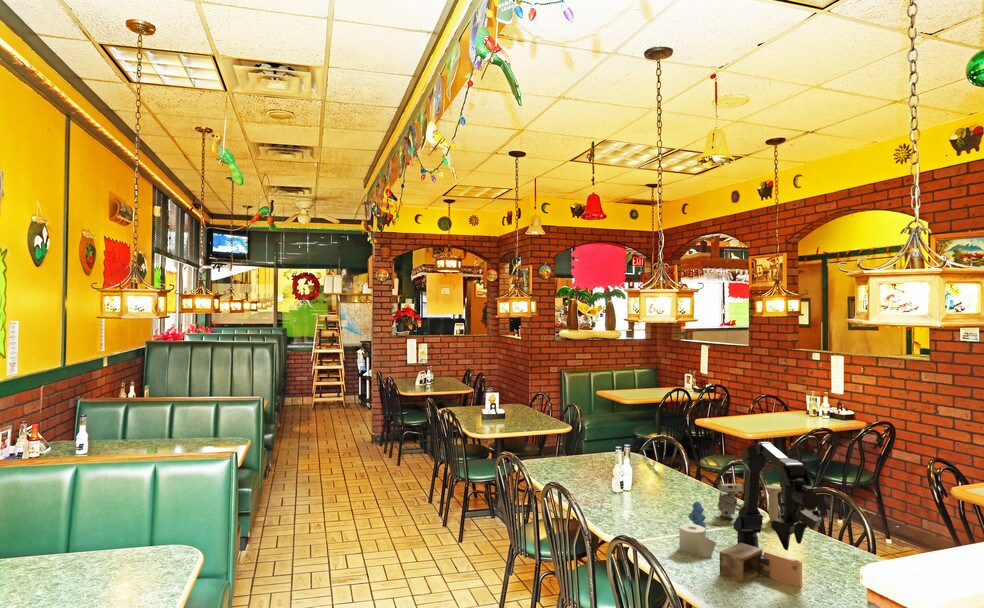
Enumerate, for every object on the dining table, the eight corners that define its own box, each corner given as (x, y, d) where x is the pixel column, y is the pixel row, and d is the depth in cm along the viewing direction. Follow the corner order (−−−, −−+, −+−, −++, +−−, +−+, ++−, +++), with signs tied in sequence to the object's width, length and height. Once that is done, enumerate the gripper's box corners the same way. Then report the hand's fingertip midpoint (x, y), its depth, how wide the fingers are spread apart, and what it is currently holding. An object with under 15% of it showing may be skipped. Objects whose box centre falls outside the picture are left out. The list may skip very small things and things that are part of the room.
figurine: (745, 522, 260) (745, 487, 260) (717, 519, 264) (717, 484, 265) (745, 516, 268) (745, 482, 269) (717, 512, 273) (717, 479, 273)
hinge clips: (758, 574, 207) (758, 556, 207) (765, 570, 210) (764, 553, 210) (768, 577, 204) (768, 560, 204) (774, 574, 207) (774, 556, 207)
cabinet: (719, 575, 206) (719, 551, 206) (740, 564, 215) (740, 542, 215) (741, 583, 200) (741, 559, 200) (762, 572, 209) (762, 549, 209)
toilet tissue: (716, 558, 220) (716, 535, 221) (678, 553, 225) (678, 530, 225) (716, 549, 229) (716, 527, 229) (680, 544, 234) (680, 522, 234)
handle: (782, 524, 258) (782, 489, 259) (765, 522, 261) (765, 487, 261) (780, 520, 263) (780, 486, 263) (764, 518, 265) (764, 484, 266)
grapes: (684, 526, 255) (684, 497, 255) (700, 526, 254) (700, 498, 255) (692, 536, 243) (692, 506, 243) (708, 536, 243) (709, 506, 243)
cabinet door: (762, 575, 206) (762, 552, 206) (766, 573, 208) (766, 550, 208) (798, 588, 197) (798, 563, 197) (802, 586, 198) (802, 561, 199)
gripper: (804, 511, 189) (804, 561, 189) (829, 500, 201) (829, 547, 201) (770, 503, 198) (770, 550, 198) (795, 492, 210) (795, 537, 210)
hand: (792, 546), depth 201 cm, fingers open, 9 cm apart
